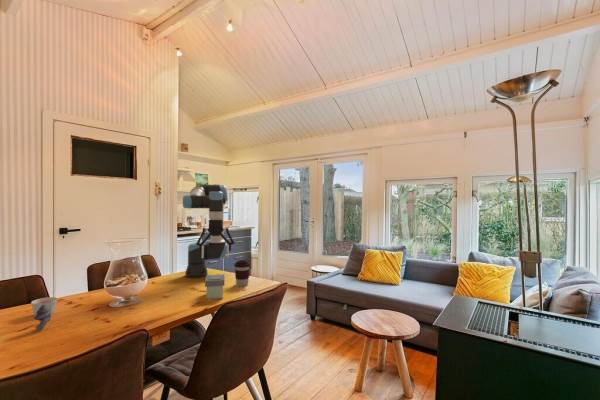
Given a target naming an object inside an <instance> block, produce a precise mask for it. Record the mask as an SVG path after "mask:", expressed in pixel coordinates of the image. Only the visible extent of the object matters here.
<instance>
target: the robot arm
mask: <svg viewBox="0 0 600 400" xmlns="http://www.w3.org/2000/svg"><path fill="white" fill-rule="evenodd" d="M227 190H228V189H227V186H226V185H225V184H199V185H196V186H194V187H193V188H192V189H191V190H190V192H189V195H187V194H186V195H183V197H182V207H183V208H184V209H189V210H190V209H208V228H206V227H203V228H202V232H201V234H200V236H199V237H198V240H197V241H196V242H193V243H190V244H188V246H187V266H186V269H185V272H184V276H185V278H190V279H191V278H193V279H195V278H196V279H197V278H198V279H199V278H202V277H204V278H205V277H206V275H209V272H208V268H207V265H206V261H219V260H225V259H226V256H227V258H229V257H230V256H229V255H230V253H229V252H231V250H232V245H234V244H235V241H234V239H233V237H232V235H231V234H230V232H229V227H224V206H225V205H226V204H227V203H226V202H228V201H229V200H228V191H227ZM207 231H208V234H207V236H206V237H204V235H205V233H206V232H207ZM224 232H225V233H226V234H227V236H228V238H227V237H226V236H225V235H224ZM203 237H204V239H203ZM209 238H210V239H209ZM202 239H203V240H202ZM228 239H229V240H230V241H229V240H228ZM206 241H208V243H206Z"/></svg>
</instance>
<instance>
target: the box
mask: <svg viewBox="0 0 600 400" xmlns="http://www.w3.org/2000/svg"><path fill="white" fill-rule="evenodd" d="M220 299H222V300H223V299H224V286H211V287H206V301H207V300H220Z"/></svg>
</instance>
